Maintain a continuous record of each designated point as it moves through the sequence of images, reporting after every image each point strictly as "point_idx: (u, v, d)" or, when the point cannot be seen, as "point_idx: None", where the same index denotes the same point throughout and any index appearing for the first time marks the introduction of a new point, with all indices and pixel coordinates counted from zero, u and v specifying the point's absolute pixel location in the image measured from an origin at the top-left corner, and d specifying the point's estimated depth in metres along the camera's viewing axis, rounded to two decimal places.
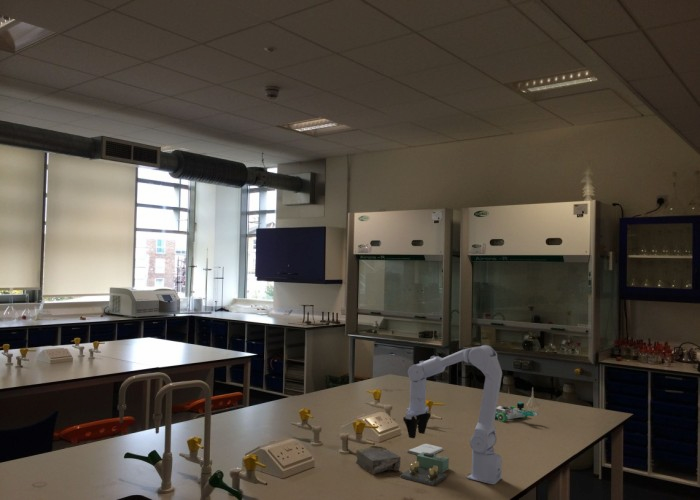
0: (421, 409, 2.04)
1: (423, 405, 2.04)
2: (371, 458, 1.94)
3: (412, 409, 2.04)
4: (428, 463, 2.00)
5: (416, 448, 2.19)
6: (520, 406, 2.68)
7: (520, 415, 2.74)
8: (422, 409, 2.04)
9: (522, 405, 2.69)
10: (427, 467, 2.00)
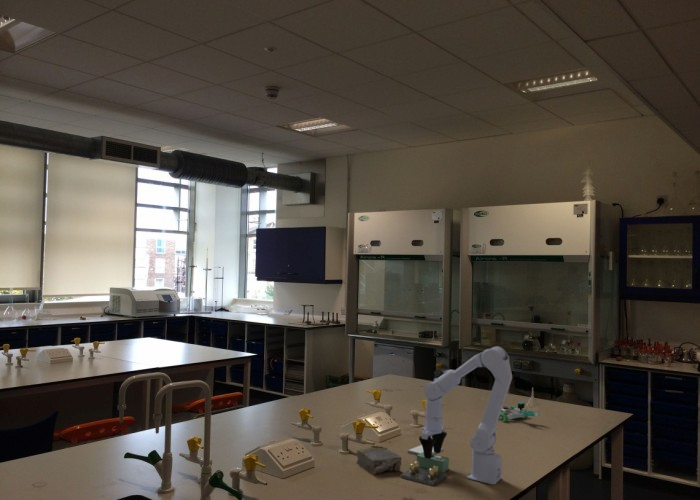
0: (437, 429, 1.99)
1: (440, 425, 2.00)
2: (372, 458, 1.94)
3: (428, 428, 2.00)
4: (428, 463, 2.00)
5: (416, 448, 2.19)
6: (521, 406, 2.68)
7: (520, 415, 2.74)
8: (438, 429, 1.99)
9: (523, 405, 2.69)
10: (427, 467, 2.00)
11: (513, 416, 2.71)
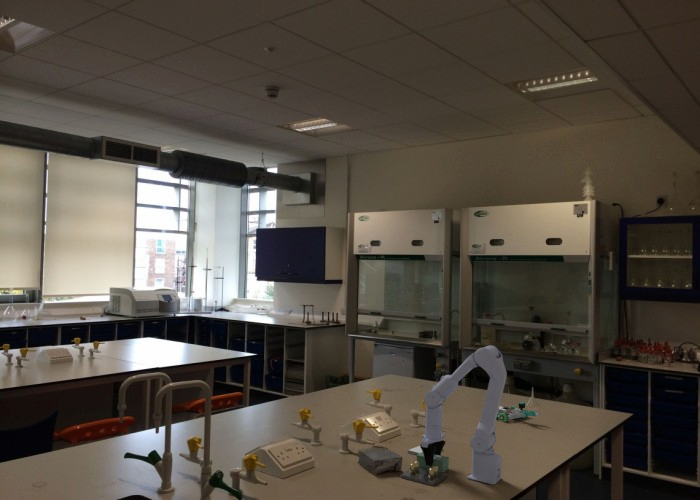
0: (437, 437, 1.99)
1: (439, 433, 2.00)
2: (373, 458, 1.94)
3: (428, 436, 2.00)
4: None
5: (416, 448, 2.19)
6: (521, 406, 2.68)
7: (521, 415, 2.74)
8: (438, 436, 1.99)
9: (523, 405, 2.69)
10: (427, 466, 2.00)
11: (514, 416, 2.71)
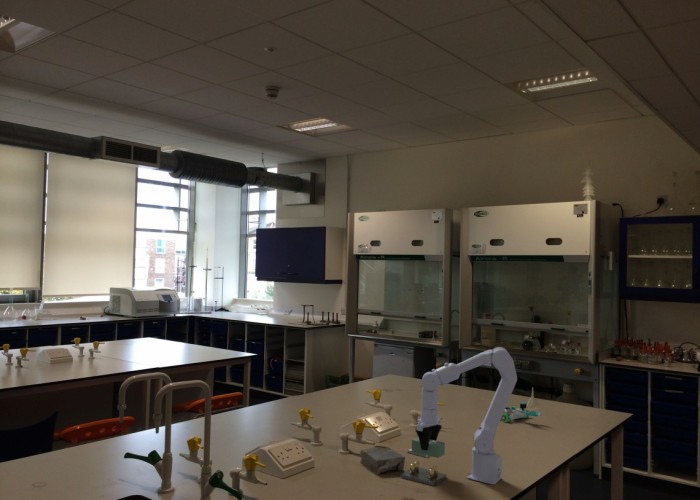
0: (433, 420, 1.94)
1: (435, 416, 1.94)
2: (375, 458, 1.95)
3: (423, 420, 1.94)
4: None
5: None
6: (523, 406, 2.68)
7: (522, 415, 2.74)
8: (434, 420, 1.94)
9: (525, 405, 2.69)
10: (422, 452, 1.94)
11: (515, 416, 2.70)
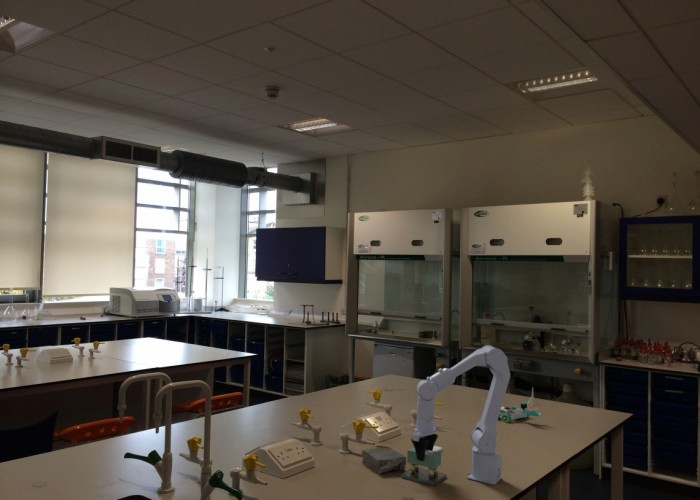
0: (429, 430, 1.89)
1: (432, 426, 1.90)
2: (377, 458, 1.95)
3: (419, 430, 1.90)
4: None
5: None
6: (524, 406, 2.68)
7: (522, 415, 2.74)
8: (430, 430, 1.89)
9: (525, 405, 2.69)
10: (418, 462, 1.90)
11: (516, 416, 2.70)
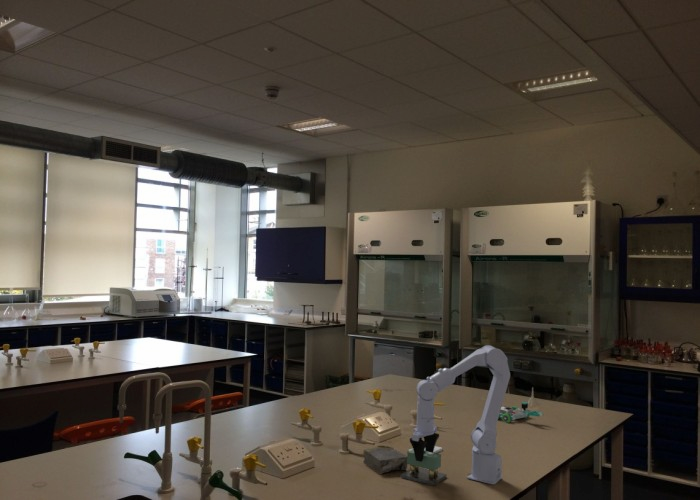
0: (429, 430, 1.89)
1: (432, 426, 1.90)
2: (379, 458, 1.95)
3: (419, 430, 1.90)
4: None
5: None
6: (524, 406, 2.68)
7: (523, 415, 2.74)
8: (430, 430, 1.89)
9: (526, 405, 2.69)
10: (418, 464, 1.90)
11: (516, 416, 2.70)
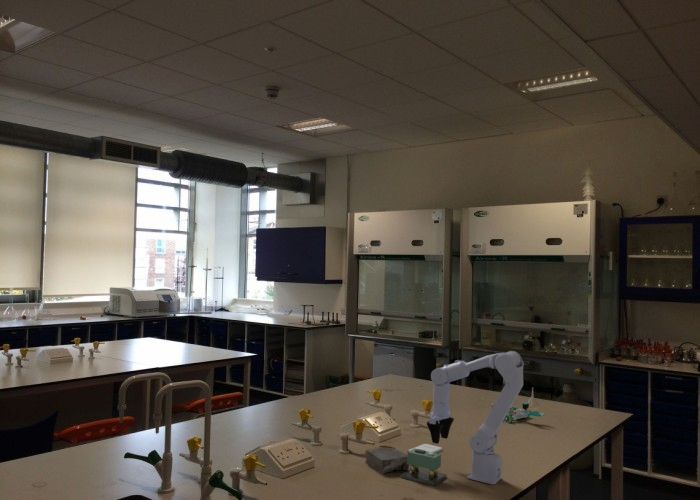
0: (445, 414, 1.99)
1: (447, 410, 2.00)
2: (381, 458, 1.95)
3: (436, 414, 2.00)
4: (419, 459, 1.89)
5: (415, 448, 2.19)
6: (525, 406, 2.68)
7: (523, 415, 2.74)
8: (446, 414, 2.00)
9: (527, 405, 2.69)
10: (418, 464, 1.90)
11: (517, 417, 2.70)
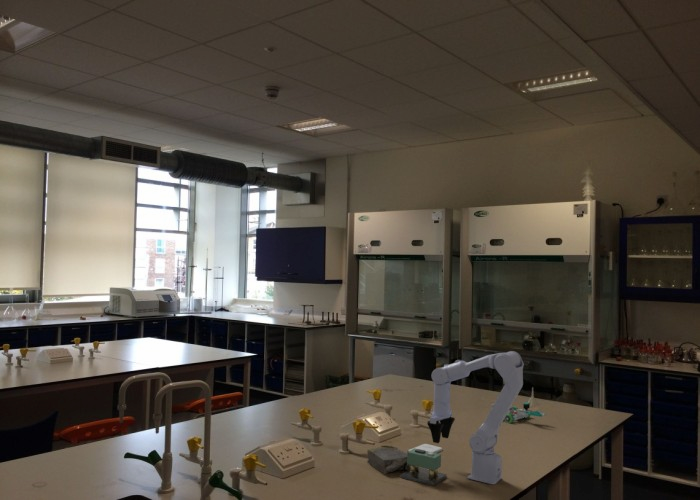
0: (445, 413, 2.00)
1: (448, 409, 2.01)
2: (383, 458, 1.95)
3: (436, 413, 2.01)
4: (419, 459, 1.89)
5: (415, 448, 2.19)
6: (526, 406, 2.68)
7: (524, 415, 2.74)
8: (446, 413, 2.00)
9: (528, 405, 2.68)
10: (418, 464, 1.90)
11: (518, 417, 2.70)
